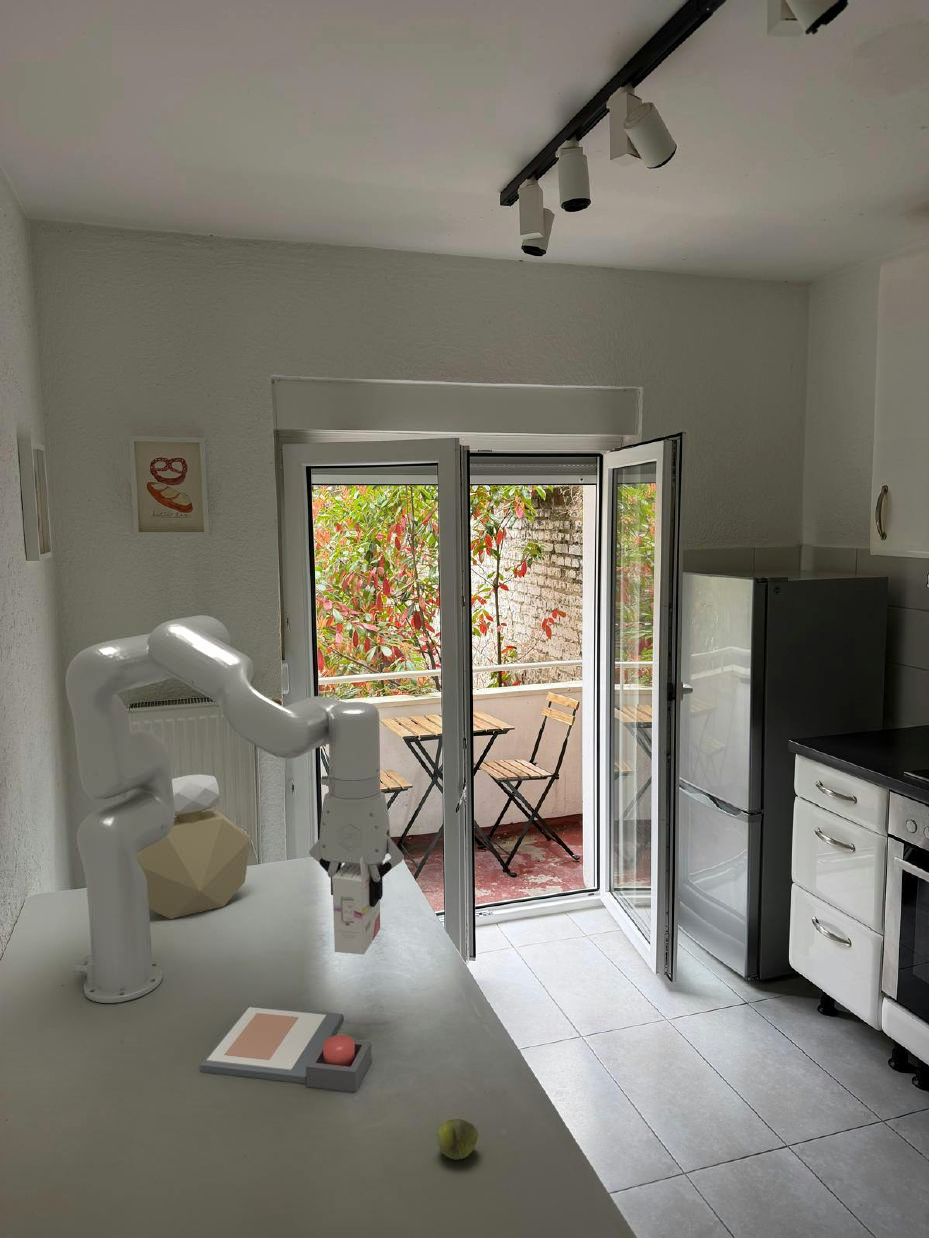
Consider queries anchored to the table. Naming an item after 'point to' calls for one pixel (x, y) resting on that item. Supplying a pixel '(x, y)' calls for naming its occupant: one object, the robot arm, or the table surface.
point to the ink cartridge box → (354, 909)
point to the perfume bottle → (195, 853)
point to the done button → (339, 1050)
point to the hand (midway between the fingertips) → (356, 900)
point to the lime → (457, 1138)
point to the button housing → (339, 1069)
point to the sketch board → (271, 1043)
